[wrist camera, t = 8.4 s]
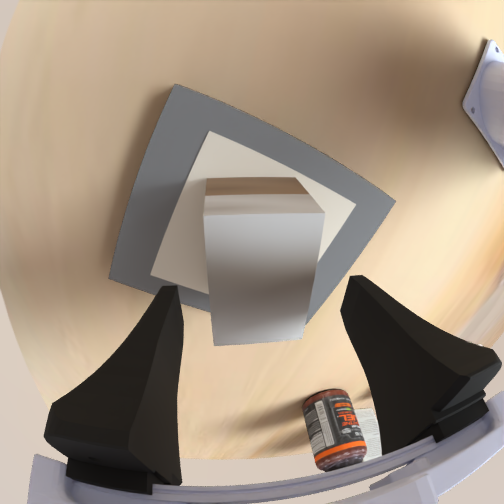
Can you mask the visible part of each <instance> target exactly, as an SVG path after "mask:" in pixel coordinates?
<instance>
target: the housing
mask: <svg viewBox="0 0 504 504" xmlns="http://www.w3.org/2000/svg"><path fill="white" fill-rule="evenodd" d="M203 218H204V235H205V250H206V264H207V277H208V289H209V301H210V312H211V322H212V332H213V341H214V346H223V345H241V344H255V343H268V342H279V341H289V340H298V339H302V337H303V333H304V328H305V323H306V319H307V314H308V309H309V304H310V299H311V294H312V289H313V284H314V279H315V273H316V268H317V262H318V256H319V251H320V245H321V239H322V232H323V226H324V219H325V212H324V211H323V210H322V208H321V207H320V206H319V205H318V203H317V202H316V201H315V200H314V199H313V197H312V196H311V195H310V194H309V193H308V191H307V190H306V189H305V188H304V187H303V186H302V184H301V183H300V182H299V181H298V180H297V179H296V177H230V178H207V180H206V191H205V202H204V214H203Z"/></svg>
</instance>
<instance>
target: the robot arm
mask: <svg viewBox="0 0 504 504" xmlns="http://www.w3.org/2000/svg"><path fill="white" fill-rule="evenodd" d="M463 109H464V110H465V112H466V113H467V114H468V116H469V117H470V118H471V120H472V121H473V122H474V124H475V125H476V126H477V128H478V129H479V131H480V132H481V133H482V135H483V136H484V138H485V139H486V141H487V142H488V144H489V145H490V147H491V148H492V150H493V151H494V153H495V155H496V156H497V158H498V159H499V161H500V163H501V165H502V166H503V168H504V55H503V53H502V52H501V50H500V49H499V47H498V46H497V44H496V43H495V41H494V40H488V42H487V45H486V47H485V50H484V53H483V55H482V58H481V61H480V63H479V66H478V68H477V71H476V73H475V75H474V78H473V80H472V82H471V85H470V87H469V89H468V91H467V94H466V96H465V98H464V100H463ZM340 312H341V316H342V319H343V322H344V326H345V329H346V331H347V334H348V336H349V338H350V340H351V343H352V345H353V347H354V349H355V351H356V354H357V356H358V358H359V360H360V362H361V365H362V367H363V369H364V372H365V374H366V377H367V380H368V383H369V387H370V390H371V394H372V398H373V402H374V406H375V410H376V415H377V420H378V426H379V432H380V440H381V450H382V456H380V457H377V458H374V459H371V460H368V461H365V462H362V463H359V464H355V465H352V466H348V467H345V468H341V469H337V470H333V471H329V472H325V473H321V474H316V475H311V476H307V477H301V478H295V479H290V480H283V481H276V482H268V483H259V484H250V485H236V486H207V487H206V486H205V487H204V486H180V485H181V483H182V476H181V468H180V457H179V444H178V423H177V392H178V382H179V374H180V366H181V358H182V350H183V336H184V320H183V315H182V310H181V304H180V298H179V292H178V286H177V285H171V286H162V287H161V288H160V289H159V291H158V293H157V294H156V296H155V298H154V299H153V301H152V303H151V304H150V306H149V307H148V309H147V310H146V312H145V313H144V315H143V316H142V318H141V319H140V321H139V322H138V323H137V325H136V326H135V327H134V329H133V330H132V331H131V333H130V334H129V335H128V337H127V338H126V339H125V341H124V342H123V343H122V344H121V345H120V347H119V348H118V349H117V350H116V351H115V352H114V353H113V354H112V355H111V357H110V358H109V359H108V360H107V361H106V362H105V363H104V364H103V365H102V366H101V367H100V368H99V369H97V370H96V371H95V372H94V373H93V374H92V375H91V376H89V377H88V378H87V379H86V380H85V381H83V382H82V383H81V384H80V385H78V386H77V387H76V388H75V389H73V390H72V391H70V392H69V393H67V394H66V395H64V396H63V397H61V398H60V399H58V400H57V401H55V402H54V403H52V406H51V409H50V411H49V415H48V420H47V423H46V428H45V432H44V438H45V440H46V441H47V442H48V443H49V444H50V445H51V446H52V447H54V448H55V449H57V450H58V451H59V452H61V453H62V454H63V455H65V456H67V457H68V462H67V464H65V463H63V462H60V461H57V460H54V459H51V458H48V457H44V456H42V455H39V454H35V455H34V459H33V465H32V471H31V477H30V484H29V492H28V502H27V504H247V503H248V504H249V503H259V502H268V501H275V500H282V499H289V498H294V497H300V496H305V495H310V494H315V493H319V492H323V491H327V490H332V489H335V488H339V487H343V486H346V485H350V484H353V483H357V482H360V481H363V480H366V479H369V478H372V477H375V476H378V475H380V474H383V473H385V472H388V471H391V470H393V469H396V468H398V467H401V466H403V465H405V464H407V465H406V466H405V467H403V468H401V469H399V470H397V471H394V472H392V473H390V474H389V475H388V476H387V477H385V478H384V479H382V480H380V481H378V482H376V483H374V484H371V485H370V487H369V488H370V491H368V492H365V493H362V494H359V495H356V496H352V497H349V498H346V499H342V500H339V501H335V502H331V503H328V504H437V503H438V501H439V500H438V497H439V496H441V495H442V494H444V493H445V492H447V491H448V490H450V489H451V488H453V487H454V486H455V485H457V484H458V483H460V482H461V481H462V480H464V479H465V478H467V477H468V476H469V475H471V474H472V473H473V472H475V471H476V470H477V469H478V468H480V467H481V466H482V465H483V464H484V463H486V462H487V461H488V460H489V459H490V458H492V457H493V456H494V455H495V454H496V453H497V452H498V451H500V450H501V449H502V448H503V447H504V391H501V392H499V393H498V394H496V395H495V396H493V397H492V398H490V399H489V400H488V401H487V402H484V400H483V398H484V397H485V396H486V393H485V392H484V390H483V389H484V388H485V387H486V385H487V384H488V383H489V382H490V381H491V380H492V379H493V377H495V375H496V374H497V372H498V371H499V370H500V368H501V365H502V362H501V361H500V359H499V357H498V356H497V354H496V353H495V352H494V350H493V349H490V348H486V347H483V346H480V345H476V344H473V343H471V342H468V341H465V340H463V339H460V338H458V337H456V336H453V335H451V334H449V333H447V332H445V331H443V330H441V329H439V328H437V327H436V326H434V325H432V324H430V323H429V322H427V321H425V320H424V319H422V318H421V317H419V316H417V315H416V314H415V313H413V312H412V311H410V310H409V309H407V308H406V307H405V306H403V305H402V304H400V303H399V302H398V301H396V300H395V299H394V298H392V297H391V296H390V295H389V294H387V293H386V292H385V291H383V290H382V289H381V288H379V287H378V286H377V285H376V284H374V283H373V282H372V281H370V280H369V279H367V278H366V277H364V276H363V275H356V276H350V278H349V281H348V285H347V289H346V292H345V296H344V299H343V303H342V306H341V310H340Z"/></svg>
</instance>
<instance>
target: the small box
mask: <svg viewBox="0 0 504 504" xmlns="http://www.w3.org/2000/svg"><path fill="white" fill-rule="evenodd" d="M354 412H355V414H356V417H357V420H358V423H359V426H360V429H361V432H362V434H363V437H364V440H365V443H366V446H367V454H366V455H365V457H364V458H363V462H365V461H368V460H371V459H374V458H377V457H380V456H382V450H381V440H380V432H379V426H378V421H377V419H376V416H375V414H374V411H373V409H372V408H364V409H354Z"/></svg>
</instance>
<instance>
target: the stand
mask: <svg viewBox="0 0 504 504" xmlns="http://www.w3.org/2000/svg"><path fill="white" fill-rule="evenodd" d="M230 177H296V179H297V180H298V181H299V182H300V183H301V184H302V186H303V187H304V188H305V189H306V190H307V191H308V193H309V194H310V195H311V196H312V197H313V199H314V200H315V201H316V202H317V203H318V205H319V206H320V207H321V208H322V210H323V211H324V212H325V219H324V226H323V232H322V239H321V245H320V251H319V256H318V262H317V268H316V273H315V279H314V284H313V289H312V294H311V299H310V304H309V309H308V314H307V319H306V323H305V325H306V324H307V323H308V322H309V320H310V319H311V318H312V317H313V316H314V314H315V313H316V312H317V311H318V309H319V308H320V307H321V306H322V304H323V303H324V302H325V300H326V299H327V298H328V297H329V295H330V294H331V293H332V292H333V290H334V289H335V288H336V286H337V285H338V284H339V282H340V281H341V280H342V278H343V277H344V276H345V274H346V273H347V272H348V270H349V269H350V268H351V266H352V265H353V264H354V262H355V261H356V259H357V258H358V257H359V255H360V254H361V252H362V251H363V250H364V248H365V247H366V245H367V244H368V243H369V241H370V240H371V238H372V237H373V235H374V234H375V232H376V231H377V229H378V228H379V226H380V225H381V224H382V222H383V221H384V219H385V217H386V216H387V214H388V213H389V211H390V210H391V208H392V207H393V205H394V204H395V202H396V201H395V200H394V199H393V198H391V197H390V196H389V195H387V194H386V193H385V192H383V191H382V190H380V189H379V188H377V187H376V186H374V185H373V184H371V183H370V182H368V181H367V180H365V179H364V178H362V177H361V176H359V175H358V174H356V173H355V172H353V171H352V170H350V169H348V168H347V167H345V166H344V165H342V164H340V163H339V162H337V161H335V160H334V159H332V158H330V157H329V156H327V155H325V154H324V153H322V152H320V151H318V150H317V149H315V148H313V147H311V146H310V145H308V144H306V143H304V142H303V141H301V140H299V139H297V138H295V137H293V136H291V135H290V134H288V133H286V132H284V131H282V130H280V129H278V128H276V127H274V126H272V125H270V124H268V123H266V122H264V121H262V120H260V119H258V118H256V117H254V116H252V115H250V114H248V113H245V112H243V111H241V110H239V109H237V108H235V107H232V106H230V105H228V104H226V103H223V102H221V101H219V100H216V99H214V98H211V97H209V96H207V95H204V94H202V93H199V92H197V91H194V90H191V89H189V88H186V87H184V86H181V85H178V84H175V85H174V87H173V89H172V91H171V93H170V95H169V97H168V100H167V102H166V104H165V106H164V108H163V111H162V113H161V115H160V118H159V120H158V122H157V125H156V127H155V129H154V132H153V134H152V137H151V139H150V142H149V144H148V147H147V150H146V152H145V155H144V158H143V160H142V163H141V166H140V169H139V172H138V174H137V177H136V180H135V183H134V186H133V189H132V192H131V195H130V199H129V202H128V205H127V208H126V212H125V215H124V219H123V222H122V226H121V229H120V233H119V237H118V240H117V244H116V248H115V252H114V257H113V261H112V265H111V270H110V274H109V279H111V280H114V281H116V282H119V283H122V284H125V285H128V286H130V287H133V288H136V289H139V290H142V291H145V292H148V293H151V294H154V295H156V294H157V293H158V291H159V289H160V288H161V287H162V286H171V285H177V286H178V292H179V298H180V303H181V304H184V305H188V306H191V307H194V308H197V309H201V310H204V311H207V312H210V301H209V289H208V277H207V264H206V250H205V235H204V218H203V214H204V202H205V191H206V180H207V178H230Z"/></svg>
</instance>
